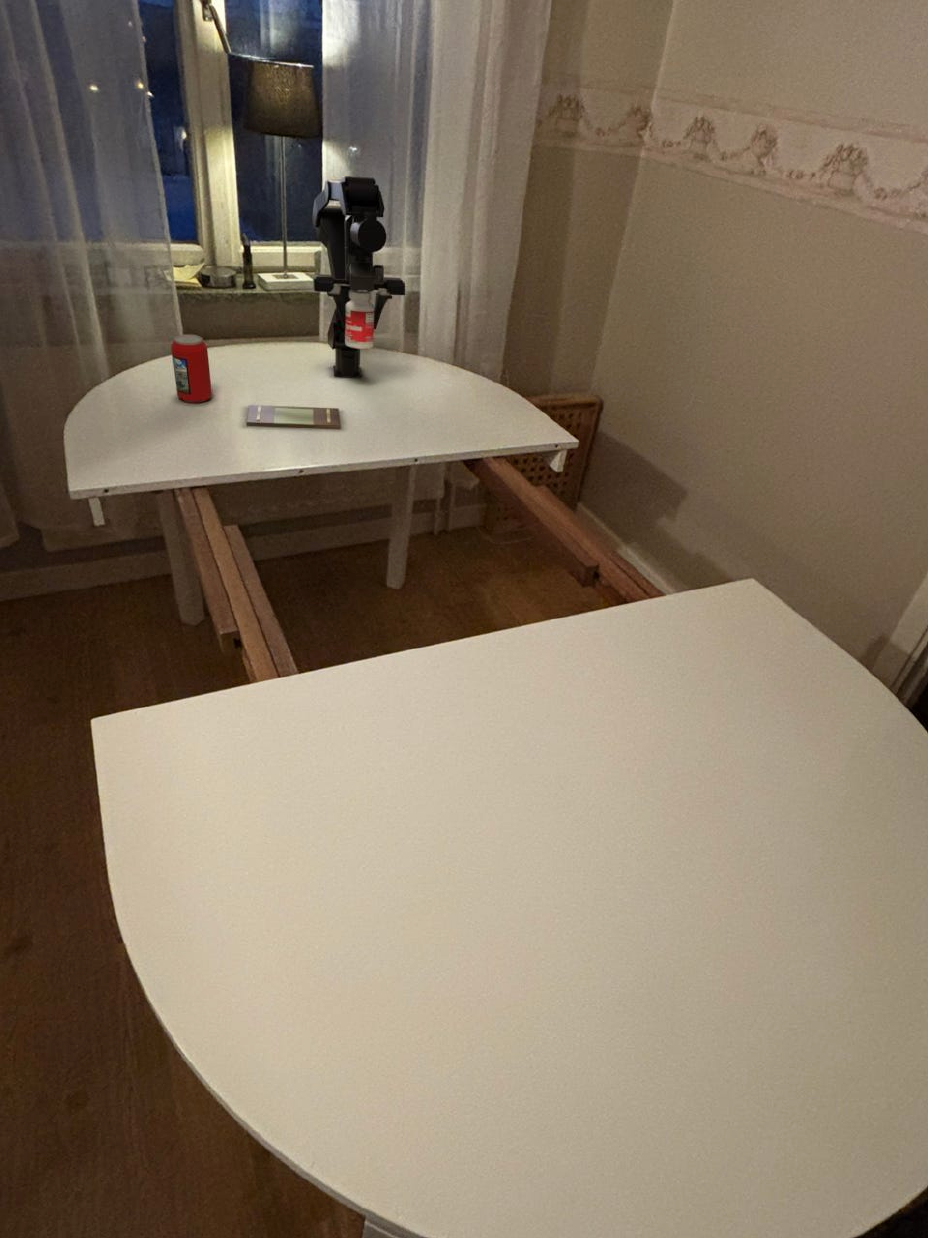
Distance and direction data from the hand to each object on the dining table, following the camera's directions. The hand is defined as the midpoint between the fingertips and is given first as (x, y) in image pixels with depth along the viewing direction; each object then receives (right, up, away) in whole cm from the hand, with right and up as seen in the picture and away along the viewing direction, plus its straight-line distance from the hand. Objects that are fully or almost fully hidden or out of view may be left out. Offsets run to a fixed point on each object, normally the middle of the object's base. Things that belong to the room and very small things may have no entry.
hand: (359, 328), depth 159 cm
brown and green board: (-12, -22, -10) cm, 27 cm away
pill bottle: (0, -3, +2) cm, 4 cm away
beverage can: (-33, -17, -7) cm, 38 cm away
